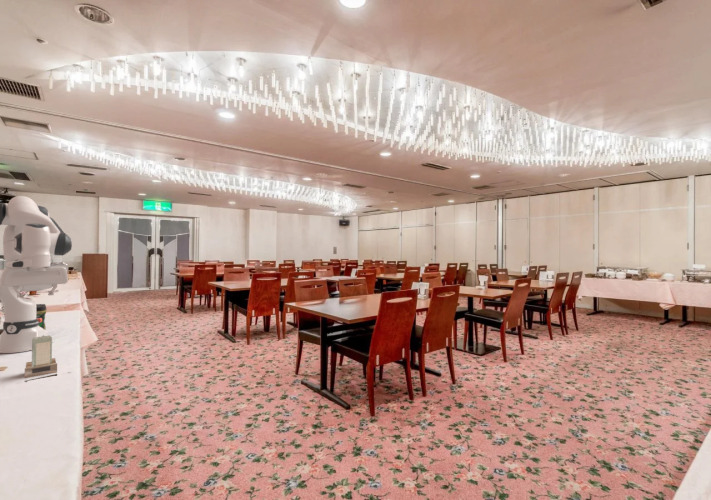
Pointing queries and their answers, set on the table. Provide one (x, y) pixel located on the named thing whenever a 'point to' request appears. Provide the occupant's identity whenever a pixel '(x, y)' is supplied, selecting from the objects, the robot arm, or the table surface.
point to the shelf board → (40, 370)
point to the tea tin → (41, 351)
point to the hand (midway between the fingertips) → (35, 296)
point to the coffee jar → (41, 314)
